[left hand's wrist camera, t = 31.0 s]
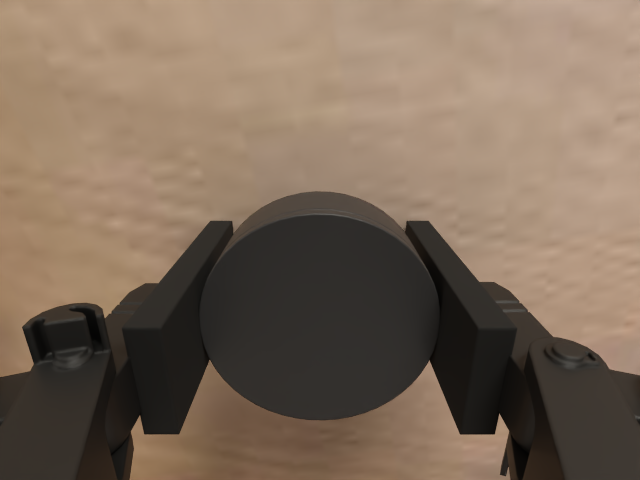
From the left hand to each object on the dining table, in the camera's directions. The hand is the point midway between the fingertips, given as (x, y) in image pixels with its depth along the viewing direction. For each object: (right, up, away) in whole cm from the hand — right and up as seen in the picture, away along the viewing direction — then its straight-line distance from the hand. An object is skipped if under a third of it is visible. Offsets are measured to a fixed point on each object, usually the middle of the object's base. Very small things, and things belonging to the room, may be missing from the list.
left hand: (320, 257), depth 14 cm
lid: (0, -2, -4) cm, 4 cm away
